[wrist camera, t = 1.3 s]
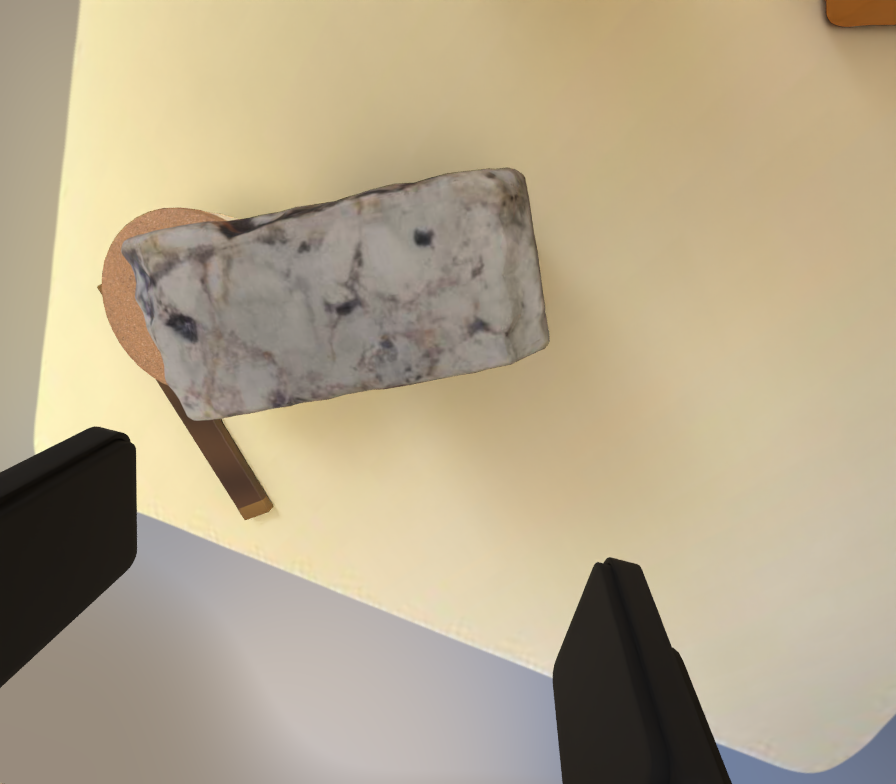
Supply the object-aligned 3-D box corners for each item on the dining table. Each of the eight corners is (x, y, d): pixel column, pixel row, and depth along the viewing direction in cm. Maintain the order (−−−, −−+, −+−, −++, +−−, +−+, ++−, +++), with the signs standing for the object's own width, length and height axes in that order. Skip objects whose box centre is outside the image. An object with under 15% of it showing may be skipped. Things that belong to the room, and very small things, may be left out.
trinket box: (233, 383, 38) (150, 431, 29) (155, 251, 35) (37, 261, 26) (352, 329, 35) (301, 363, 26) (278, 183, 33) (193, 167, 24)
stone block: (355, 331, 35) (182, 454, 17) (320, 234, 33) (80, 248, 15) (536, 279, 33) (575, 354, 14) (509, 170, 31) (513, 87, 12)
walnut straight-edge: (104, 285, 36) (96, 286, 36) (130, 271, 36) (122, 272, 35) (249, 515, 42) (244, 520, 41) (274, 506, 41) (269, 511, 40)
